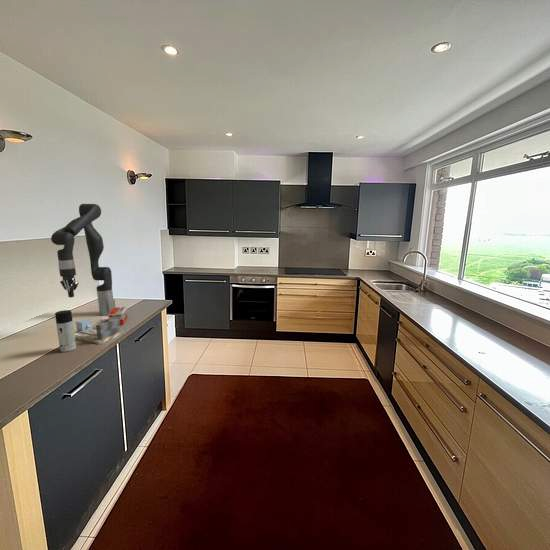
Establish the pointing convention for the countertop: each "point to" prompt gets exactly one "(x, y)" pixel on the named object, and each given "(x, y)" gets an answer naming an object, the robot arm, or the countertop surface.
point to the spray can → (65, 330)
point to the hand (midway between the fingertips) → (71, 297)
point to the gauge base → (101, 332)
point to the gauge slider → (84, 325)
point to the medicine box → (118, 314)
